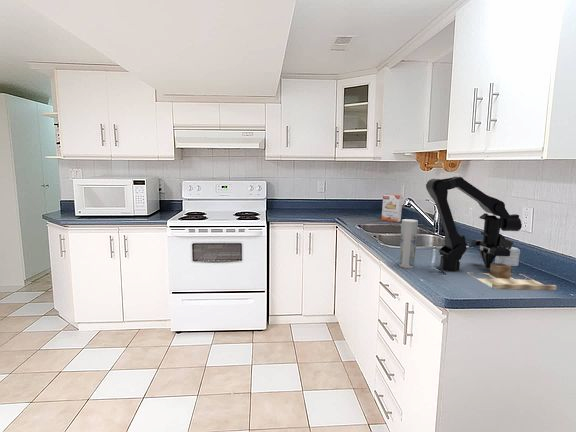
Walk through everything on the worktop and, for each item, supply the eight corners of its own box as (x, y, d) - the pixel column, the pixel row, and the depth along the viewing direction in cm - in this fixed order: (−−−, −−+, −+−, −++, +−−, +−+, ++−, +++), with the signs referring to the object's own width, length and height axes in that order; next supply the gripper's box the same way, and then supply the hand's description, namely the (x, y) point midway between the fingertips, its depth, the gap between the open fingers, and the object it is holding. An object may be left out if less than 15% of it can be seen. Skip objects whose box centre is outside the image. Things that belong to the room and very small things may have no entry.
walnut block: (496, 278, 139) (498, 266, 139) (489, 274, 144) (490, 263, 144) (509, 278, 139) (511, 267, 139) (502, 274, 144) (503, 263, 144)
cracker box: (381, 220, 293) (382, 194, 290) (384, 219, 298) (386, 193, 295) (397, 222, 284) (399, 195, 281) (401, 221, 289) (402, 195, 286)
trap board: (493, 291, 127) (493, 284, 126) (466, 275, 146) (466, 269, 145) (555, 293, 127) (556, 285, 127) (520, 276, 146) (521, 270, 146)
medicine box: (511, 266, 163) (513, 246, 162) (518, 268, 158) (520, 249, 157) (494, 265, 162) (496, 246, 161) (500, 268, 158) (502, 248, 157)
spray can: (400, 263, 161) (403, 218, 159) (415, 265, 158) (419, 220, 156) (397, 266, 156) (400, 220, 153) (412, 269, 153) (416, 221, 150)
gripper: (526, 235, 139) (521, 275, 141) (497, 227, 157) (494, 262, 159) (497, 234, 139) (493, 274, 141) (472, 226, 157) (468, 261, 159)
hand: (487, 268), depth 150 cm, fingers closed
